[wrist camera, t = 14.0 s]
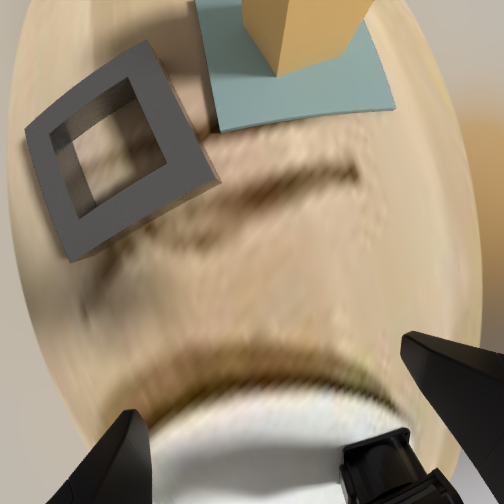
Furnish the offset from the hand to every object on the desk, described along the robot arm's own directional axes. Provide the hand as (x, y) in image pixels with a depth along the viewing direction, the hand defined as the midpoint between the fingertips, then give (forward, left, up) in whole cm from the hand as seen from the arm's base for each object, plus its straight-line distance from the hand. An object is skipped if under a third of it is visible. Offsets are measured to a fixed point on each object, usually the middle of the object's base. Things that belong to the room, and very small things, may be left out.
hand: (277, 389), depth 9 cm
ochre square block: (-5, -17, -10) cm, 20 cm away
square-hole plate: (+8, -11, -11) cm, 18 cm away
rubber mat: (-5, -17, -11) cm, 21 cm away
